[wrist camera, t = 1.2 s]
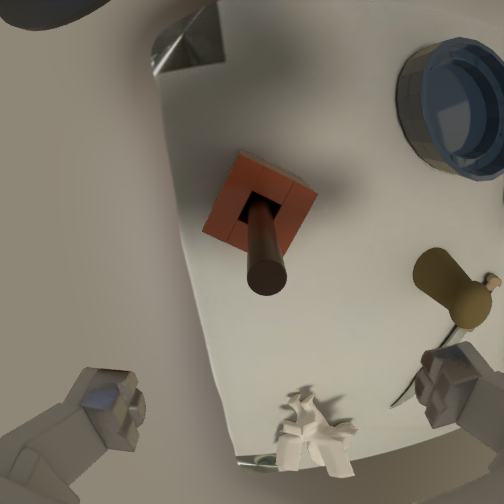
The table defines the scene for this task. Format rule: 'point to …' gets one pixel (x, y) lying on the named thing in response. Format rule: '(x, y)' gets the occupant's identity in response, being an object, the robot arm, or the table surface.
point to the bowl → (455, 107)
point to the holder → (268, 185)
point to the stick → (263, 249)
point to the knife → (452, 337)
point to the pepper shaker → (452, 288)
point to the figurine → (315, 440)
